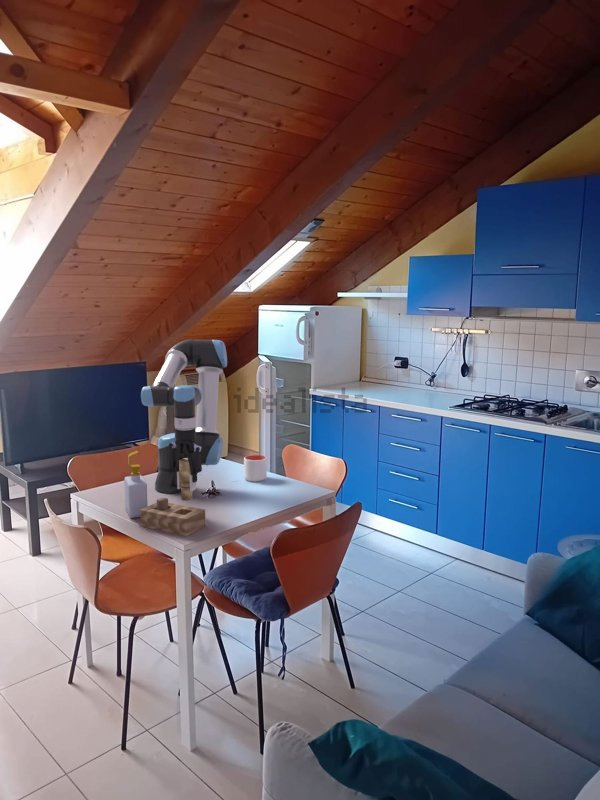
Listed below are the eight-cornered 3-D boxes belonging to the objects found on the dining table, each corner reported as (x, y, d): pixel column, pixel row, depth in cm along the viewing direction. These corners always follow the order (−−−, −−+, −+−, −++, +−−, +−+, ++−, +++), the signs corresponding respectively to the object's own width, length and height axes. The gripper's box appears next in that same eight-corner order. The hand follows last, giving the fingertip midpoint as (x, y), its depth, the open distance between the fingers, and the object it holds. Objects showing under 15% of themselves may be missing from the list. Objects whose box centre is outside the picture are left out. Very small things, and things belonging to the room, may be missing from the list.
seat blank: (140, 526, 219) (139, 501, 217) (160, 516, 229) (160, 493, 227) (186, 536, 210) (186, 510, 209) (205, 525, 220) (205, 501, 218)
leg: (177, 499, 230) (176, 460, 227) (185, 495, 234) (184, 457, 232) (188, 501, 228) (187, 462, 225) (196, 497, 232) (195, 459, 229)
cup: (265, 482, 273) (265, 460, 271) (243, 482, 273) (242, 460, 271) (267, 476, 283) (267, 455, 281) (245, 476, 283) (245, 454, 281)
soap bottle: (148, 516, 229) (146, 454, 225) (129, 518, 226) (127, 456, 222) (142, 506, 240) (140, 447, 236) (125, 508, 237) (123, 448, 233)
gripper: (158, 427, 227) (160, 488, 231) (199, 433, 219) (200, 495, 223) (171, 423, 233) (173, 482, 238) (211, 428, 225) (212, 489, 230)
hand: (186, 488), depth 230 cm, fingers closed on leg, 5 cm apart
